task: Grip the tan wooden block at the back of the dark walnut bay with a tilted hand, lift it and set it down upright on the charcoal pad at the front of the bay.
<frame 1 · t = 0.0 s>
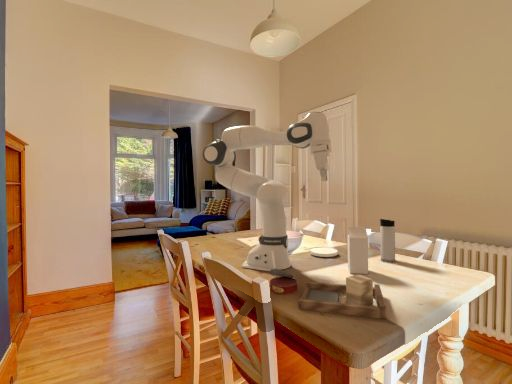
hand: (324, 180, 120), 39 cm above the table, tool pointing down, fingers open, 8 cm apart
tan wooden block: (359, 303, 86), resting in bay
canned food: (283, 289, 100), on the table
plastic lid: (324, 255, 146), on the table
travel mug: (387, 261, 131), on the table
bay: (341, 301, 88), on the table
milk carton: (357, 271, 117), on the table
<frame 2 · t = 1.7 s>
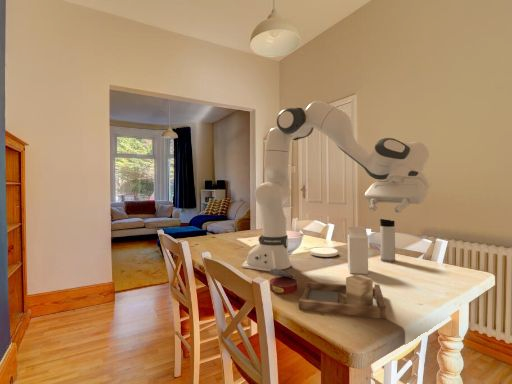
hand: (383, 210, 91), 28 cm above the table, tool tilted 45°, fingers open, 8 cm apart
nothing on the table moved.
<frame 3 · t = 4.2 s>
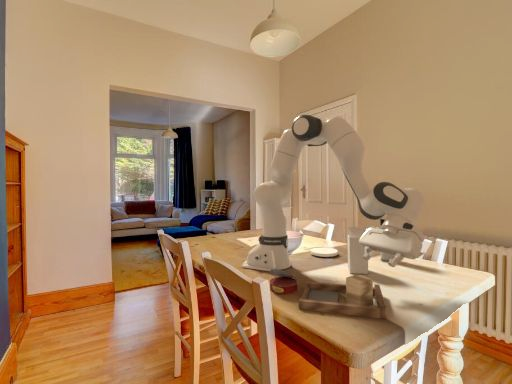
hand: (377, 262, 90), 12 cm above the table, tool tilted 45°, fingers open, 8 cm apart
nothing on the table moved.
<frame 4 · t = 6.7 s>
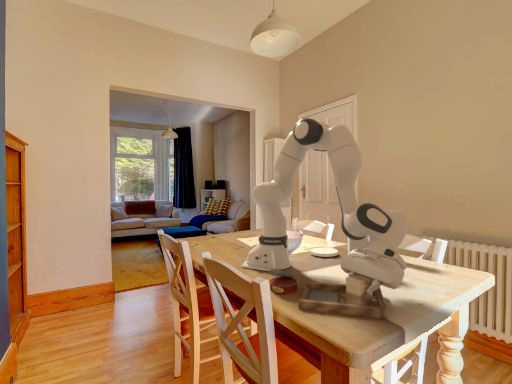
hand: (357, 290, 85), 4 cm above the table, tool tilted 45°, fingers closed on tan wooden block, 5 cm apart
tan wooden block: (359, 303, 86), resting in bay, touching gripper
everything else where it was.
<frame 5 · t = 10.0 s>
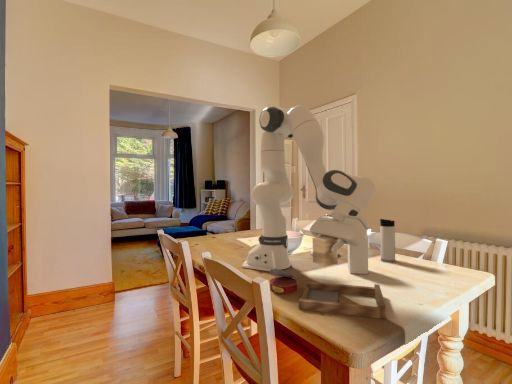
hand: (323, 249, 88), 16 cm above the table, tool tilted 45°, fingers closed on tan wooden block, 5 cm apart
tan wooden block: (325, 262, 89), point 12 cm above the table, touching gripper
everything else where it was.
when the fingers open (6 cm above the table, at t = 13.2 s): tan wooden block drops 1 cm, resting on bay.
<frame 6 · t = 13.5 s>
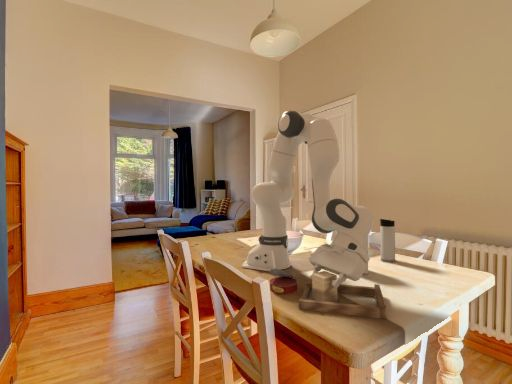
hand: (323, 282, 89), 6 cm above the table, tool tilted 45°, fingers open, 8 cm apart
tan wooden block: (324, 299, 89), resting on bay
everything else where it was.
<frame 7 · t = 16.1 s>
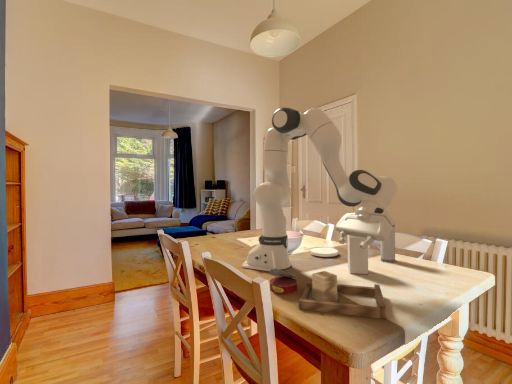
hand: (350, 245, 95), 16 cm above the table, tool tilted 45°, fingers open, 8 cm apart
nothing on the table moved.
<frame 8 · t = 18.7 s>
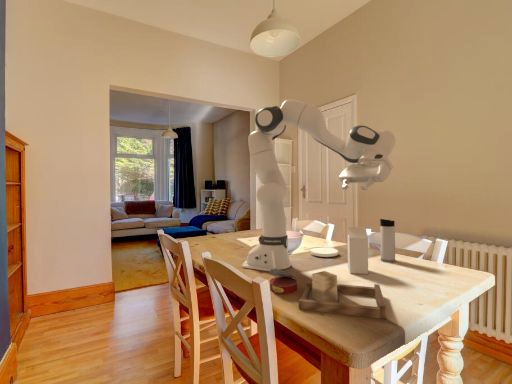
hand: (353, 188, 105), 35 cm above the table, tool tilted 45°, fingers open, 8 cm apart
nothing on the table moved.
at the end: tan wooden block inside the target area (0.1 cm from its centre), resting on bay; tan wooden block tilted 0°; the gripper is holding nothing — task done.
